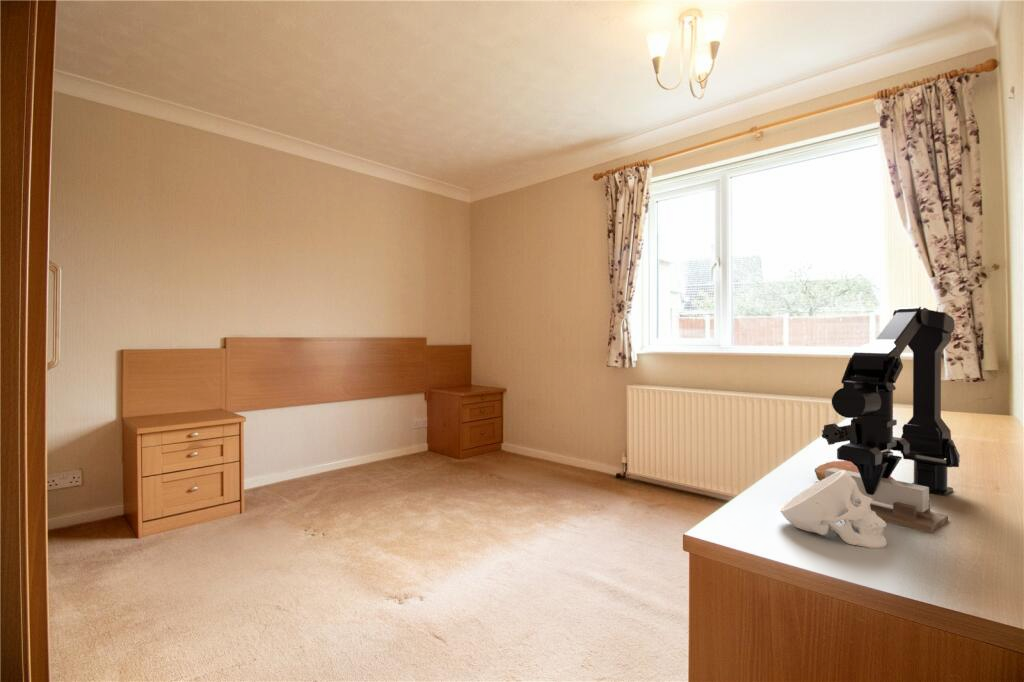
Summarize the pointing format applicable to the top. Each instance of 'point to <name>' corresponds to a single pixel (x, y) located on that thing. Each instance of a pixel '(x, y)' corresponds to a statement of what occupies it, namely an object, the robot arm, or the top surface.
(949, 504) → the top surface
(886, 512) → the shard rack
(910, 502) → the clay strip
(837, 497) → the skull bowl
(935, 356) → the robot arm
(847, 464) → the ceramic shard
